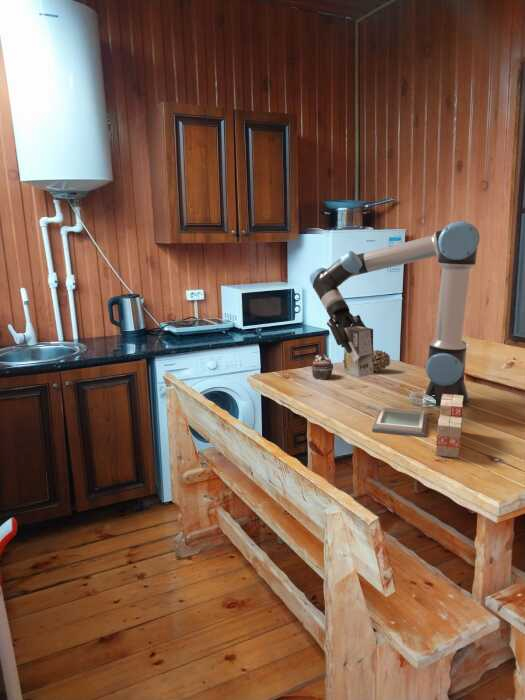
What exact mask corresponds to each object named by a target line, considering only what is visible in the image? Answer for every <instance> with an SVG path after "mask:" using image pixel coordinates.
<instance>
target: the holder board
mask: <svg viewBox="0 0 525 700" xmlns="http://www.w3.org/2000/svg"><path fill="white" fill-rule="evenodd" d="M427 423H428V413H425V410H424V409H423V410H422V409H414V408H413V409H411V408H400V407H389V406H388V407H387V406H382V407H381V409H379V411H378V414H377V417H376V418H375V422H374V423H373V426H372V433H383V434H392V435H402V436H411V435H412V436H414V437H421V436H423V438H425V437H426V431H427V425H428V424H427Z"/></svg>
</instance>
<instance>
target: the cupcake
mask: <svg viewBox="0 0 525 700" xmlns="http://www.w3.org/2000/svg"><path fill="white" fill-rule="evenodd" d="M310 369H311V373H312V378H313V377H314V378H315V380H319V379H320V380H321V381H323V380H325V381H326V380H329V379H332V374H333V370H334V365H333V363H332V360H331V358H330V357H329V356H328V354H326V353H325V354H317V355H315V359H314V360H313V362H312V365H311V367H310ZM314 378H313V379H314ZM320 380H319V381H320Z"/></svg>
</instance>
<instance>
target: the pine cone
mask: <svg viewBox="0 0 525 700" xmlns="http://www.w3.org/2000/svg"><path fill="white" fill-rule="evenodd" d="M374 351H375V353H376V355H375V356H374V357H373V372H380V371H381V370H383V369H386V368H387V367H389V366H390V365H391V360H390V359H391V356H390V355H389V353H387V352H386V351H382V350H379V349H377V350H374ZM342 362H343V364H344V359H342Z"/></svg>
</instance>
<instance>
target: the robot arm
mask: <svg viewBox="0 0 525 700" xmlns="http://www.w3.org/2000/svg"><path fill="white" fill-rule="evenodd" d="M479 243H480V233H479V231H478V229H477V228H476V226H475V225H473V224H472V223H469V222H466V221H463V220H462V221H455V222H451V223H449V224H448V225H446V226H445V227H444V228H443V229H441V230H437V231H435V232H434V233H433V234H432V235H429V236H424V237H421V238H417V239H413V240H409V241H405V242H402V243H397V244H394V245H389V246H386V247H381V248H378V249H375V250H370V251H366V252H363V253H358V254H356V253H355V252H354V251H352V250H349V251H346V253H344V254H343V255H341V256H340V258H338V259H337V260H336V261H335V262H333V264H331V265H330V266H329V267H327V268H325V267H320V268H317V269H315V270H314V271H312V272H311V273H310V276H309V281H310V284H311V286H312V288H313V290H314V291H315V293H316V295H317V296H318V298H319V299H320V300H319V301H320V302H321V304H322V306H323V308H324V310H325V311H326V313H327V314H328V316H329V319H328V321H327V322H326V325H327V326H328V327H329V328H330V331H331V333H332V335H333V338H334V339H335V343H336V345H337V346H341V348H344V347H345V349H346V351H347V352H348V353H349V354H350V355H351V357H352V359H353V361H354V362H356V361H357V360H358V359H359V358H360V357H359V355H358V353H357V352H356V350H355V348H354V346H353V344H352V343H351V342H349V343H348V337H347V333H346V331H345V329H344V327H350V326H357V325H358V326H362V327H367V326H366V325H365V323H364V321H363V320H362V318H361V316H360V314H357V315H353V314H352V313H351V312H350V307H349V306H348V304H347V302H346V300H345V299H344V297H343V295H342V293H341V292H340V290H339V287H340V286H341V285H342V284H343V283H344V282H346V281H347V280H348V279H350V278H352V277H355V276H358V275H363V274H367V273H371V272H375V271H376V272H377V271H381V270H383V269H388V268H392V267H397V266H402V265H405V264H410V263H415V262H419V261H422V260H427V259H432V258H438V259H437V264H438V265H439V267H440V268H441V275H440V288H439V296H438V305H437V313H436V315H437V317H436V326H435V334H434V335H435V336H434V338H433V339H432V340H431V341H430V342H429V346H428V356H427V357H428V358H427V361H426V363H425V372H426V375H427V377H428V380H430V381H429V384H428V386H427V388H426V391H425V395H426V394H427V395H429V396H432V395H435V396H432V397H433V398H434V399H435V400H436V404H435V405H438V406H441V399H442V394H451V395H462V396H463V406H464V405H466V404H468V403H469V394H468V390H467V387H466V383H465V376H466V375H465V373H466V359H467V358H466V357H467V341H465V340H462V339H463V330H464V321H465V312H466V304H467V297H468V289H469V288H468V287H469V279H470V271H471V270H472V268H474V267H475V266H476V263H477V261H476V260H477V254H478V246H479ZM375 351H376V350H374V349H373V357H374V356H375V355H376V353H375Z"/></svg>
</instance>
